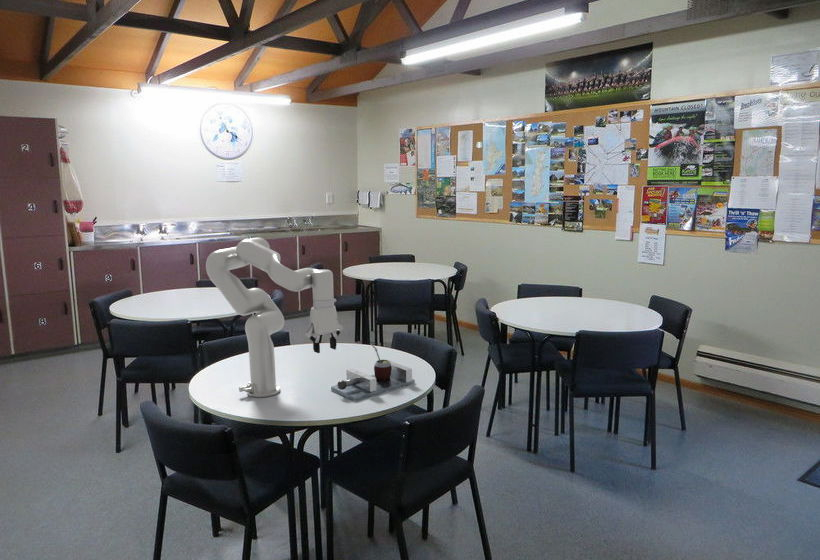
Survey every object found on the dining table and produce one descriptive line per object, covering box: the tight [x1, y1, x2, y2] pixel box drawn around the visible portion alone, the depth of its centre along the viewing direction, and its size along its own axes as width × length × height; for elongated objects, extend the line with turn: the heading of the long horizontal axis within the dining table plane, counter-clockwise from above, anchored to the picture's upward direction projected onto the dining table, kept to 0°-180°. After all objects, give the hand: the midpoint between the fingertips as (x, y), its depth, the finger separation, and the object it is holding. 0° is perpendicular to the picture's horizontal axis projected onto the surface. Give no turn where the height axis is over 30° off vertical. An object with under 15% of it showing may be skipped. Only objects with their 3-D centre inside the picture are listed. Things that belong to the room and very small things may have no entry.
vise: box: [330, 359, 416, 402], centre depth 232 cm, size 30×16×6 cm, turn 130°
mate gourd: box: [369, 343, 392, 383], centre depth 234 cm, size 8×8×15 cm
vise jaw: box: [336, 368, 376, 392], centre depth 225 cm, size 12×16×5 cm
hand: (325, 350), depth 215 cm, fingers open, 6 cm apart
